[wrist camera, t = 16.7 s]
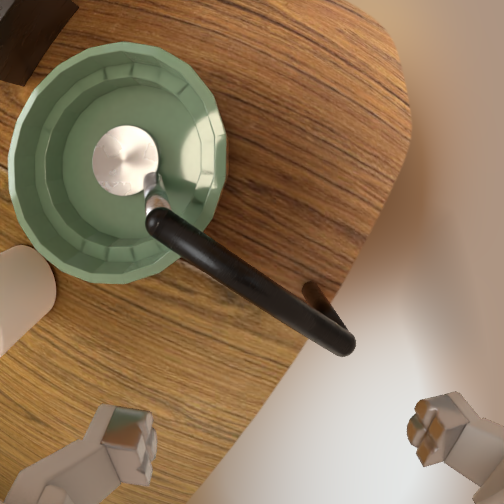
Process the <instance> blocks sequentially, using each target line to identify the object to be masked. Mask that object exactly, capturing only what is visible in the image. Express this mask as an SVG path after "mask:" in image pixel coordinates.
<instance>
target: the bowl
mask: <svg viewBox="0 0 504 504" xmlns="http://www.w3.org/2000/svg"><path fill="white" fill-rule="evenodd" d="M122 125H132V126H137V127H140V128H142V129H144V130H146V131H148V132H149V133H150V134H151V135H152V136H153V137H154V138H155V139H156V141H157V143H158V145H159V148H160V152H161V166H160V170H159V172H158V173H159V174H160V175H161V177H162V180H163V183H164V186H165V190H166V193H167V196H168V199H169V203H170V206H171V209H172V211H173V212H174V213H176V214H177V215H179V216H180V217H182V218H183V219H184V220H186V221H187V222H189V223H190V224H192V225H193V226H194V227H196V228H197V229H199V230H200V231H202V232H203V231H204V229H205V228H206V227H207V225H208V224H209V222H210V221H211V220H212V218H213V216H214V214H215V212H216V210H217V208H218V205H219V202H220V199H221V196H222V193H223V190H224V187H225V184H226V181H227V178H228V174H229V140H228V137H227V134H226V130H225V127H224V124H223V121H222V118H221V115H220V112H219V109H218V106H217V103H216V100H215V97H214V95H213V94H212V92H211V91H210V90H209V89H208V87H207V86H206V85H205V83H204V82H203V81H202V80H201V78H200V77H199V76H198V75H197V73H196V72H195V71H194V70H193V68H192V67H191V66H190V65H189V64H187V63H185V62H184V61H182V60H180V59H179V58H177V57H175V56H174V55H172V54H170V53H169V52H167V51H165V50H163V49H162V48H160V47H156V46H150V45H144V44H138V43H132V42H117V43H111V44H106V45H101V46H96V47H92V48H88V49H86V50H84V51H82V52H80V53H79V54H77V55H75V56H73V57H71V58H70V59H68V60H66V61H64V62H63V63H61V64H59V65H58V66H57V67H55V68H54V69H53V70H52V71H51V72H50V73H49V74H48V76H47V77H46V78H45V79H44V80H43V81H42V82H41V83H40V84H39V85H38V86H37V87H36V88H35V89H34V90H33V92H32V94H31V95H30V97H29V99H28V101H27V103H26V104H25V106H24V108H23V110H22V112H21V114H20V116H19V118H18V120H17V123H16V124H15V128H14V132H13V136H12V140H11V145H10V149H9V154H8V183H9V193H10V196H11V200H12V203H13V207H14V210H15V213H16V216H17V219H18V222H19V224H20V226H21V227H22V229H23V230H24V232H25V234H26V235H27V237H28V238H29V240H30V241H31V243H32V244H33V246H34V247H35V249H36V250H37V251H38V252H39V253H40V254H41V255H42V256H44V257H45V258H46V259H47V260H48V261H50V262H51V263H52V264H53V265H54V266H56V267H57V268H58V269H59V270H61V271H62V272H64V273H67V274H69V275H72V276H75V277H77V278H80V279H82V280H85V281H88V282H90V283H104V284H127V283H130V282H134V281H137V280H140V279H143V278H146V277H149V276H152V275H155V274H158V273H160V272H162V271H163V270H164V269H166V268H167V267H168V266H170V265H171V264H172V263H174V262H175V261H176V260H178V259H179V258H180V257H181V256H179V255H178V254H176V253H175V252H173V251H172V250H170V249H169V248H168V247H166V246H165V245H163V244H162V243H160V242H159V241H157V240H156V239H154V238H153V237H152V236H150V235H149V234H148V232H147V230H146V228H145V219H146V213H145V201H144V190H143V191H141V192H139V193H137V194H134V195H131V196H117V195H113V194H111V193H109V192H107V191H106V190H105V189H103V188H102V187H101V186H100V184H99V183H98V182H97V180H96V178H95V175H94V173H93V168H92V157H93V152H94V149H95V147H96V145H97V143H98V141H99V140H100V138H101V137H102V136H103V135H104V134H105V133H106V132H108V131H109V130H111V129H113V128H115V127H118V126H122Z"/></svg>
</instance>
